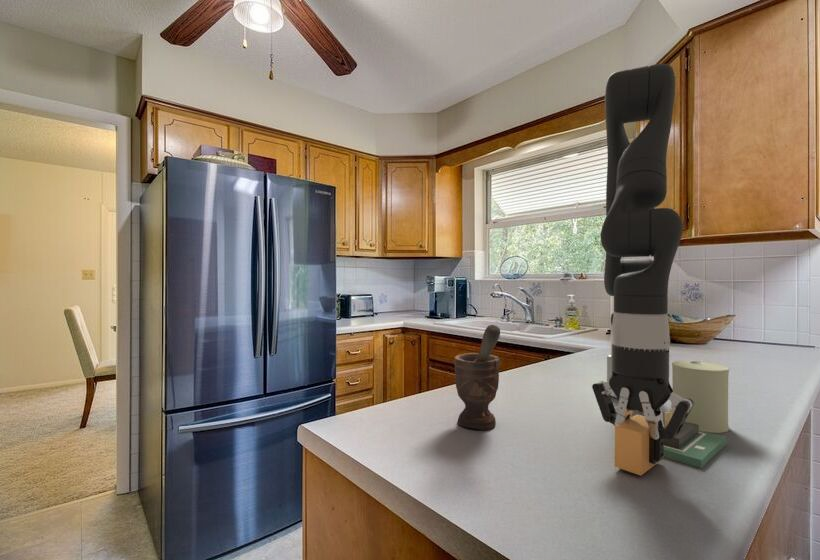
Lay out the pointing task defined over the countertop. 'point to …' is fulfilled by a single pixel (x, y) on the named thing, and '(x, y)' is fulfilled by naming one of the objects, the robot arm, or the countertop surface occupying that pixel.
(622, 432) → the block
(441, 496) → the countertop surface
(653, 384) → the robot arm
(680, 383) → the can
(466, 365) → the mortar and pestle
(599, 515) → the countertop surface
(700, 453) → the header board
